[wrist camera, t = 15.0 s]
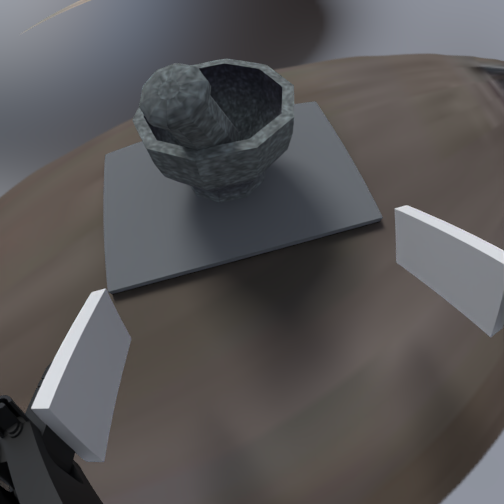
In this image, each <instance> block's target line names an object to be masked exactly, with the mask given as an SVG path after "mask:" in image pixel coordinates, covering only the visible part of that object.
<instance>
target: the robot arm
mask: <svg viewBox="0 0 504 504" xmlns="http://www.w3.org/2000/svg"><path fill="white" fill-rule="evenodd" d="M395 228H396V262H397V263H398V264H399V265H401V266H402V267H403V268H405V269H406V270H407V271H409V272H410V273H412V274H413V275H414V276H416V277H417V278H418V279H420V280H421V281H422V282H423V283H425V284H426V285H427V286H429V287H430V288H431V289H433V290H434V291H435V292H436V293H438V294H439V295H440V296H442V297H443V298H444V299H445V300H447V301H448V302H449V303H450V304H452V305H453V306H454V307H455V308H457V309H458V310H459V311H460V312H461V313H463V314H464V315H465V316H466V317H467V318H469V319H470V320H471V321H472V322H473V323H475V324H476V325H477V326H478V327H479V328H480V329H482V330H483V331H484V332H485V333H486V334H487V335H489V336H490V337H492V336H493V335H494V334H496V333H497V332H498V331H500V330H501V329H502V328H503V325H504V251H503V250H501V249H500V248H498V247H496V246H494V245H492V244H490V243H488V242H486V241H484V240H482V239H480V238H478V237H476V236H474V235H472V234H470V233H468V232H466V231H464V230H462V229H460V228H458V227H456V226H453V225H451V224H449V223H447V222H445V221H443V220H440V219H438V218H436V217H434V216H431V215H429V214H427V213H424V212H422V211H420V210H417V209H415V208H412V207H410V206H408V205H406V206H402V207H399V208H395ZM130 342H131V337H130V335H129V333H128V331H127V330H126V328H125V326H124V324H123V322H122V320H121V318H120V316H119V314H118V312H117V310H116V308H115V306H114V304H113V302H112V300H111V298H110V296H109V294H108V292H107V290H106V289H102V290H98V291H95V292H92V293H91V294H90V296H89V298H88V299H87V301H86V302H85V304H84V306H83V307H82V309H81V311H80V313H79V314H78V316H77V318H76V319H75V321H74V323H73V325H72V326H71V328H70V330H69V332H68V334H67V335H66V337H65V339H64V341H63V343H62V345H61V347H60V348H59V350H58V352H57V354H56V356H55V358H54V360H53V361H52V362H51V363H50V364H49V366H48V367H47V368H46V370H45V372H44V374H43V376H42V380H40V382H39V384H38V388H36V390H35V393H34V395H33V397H32V399H31V401H30V404H29V406H28V408H27V411H26V413H25V414H24V413H23V411H22V410H21V409H20V408H19V407H18V406H17V405H16V404H15V402H14V401H13V400H12V399H11V398H10V397H9V396H7V395H3V396H0V479H1V480H2V481H3V482H5V483H6V484H7V485H9V487H10V491H7V490H5V489H4V488H2V487H1V486H0V504H103V503H102V501H101V500H100V498H99V497H98V495H97V494H96V492H95V491H94V489H93V488H92V486H91V485H90V483H89V481H88V480H87V478H86V476H85V475H84V473H83V471H82V470H81V468H80V466H79V465H78V464H77V463H76V462H75V461H74V460H73V458H74V454H75V453H76V454H78V455H79V456H80V457H81V458H82V459H84V460H85V461H87V462H104V460H105V454H106V448H107V442H108V437H109V431H110V426H111V421H112V416H113V412H114V407H115V402H116V398H117V393H118V389H119V385H120V381H121V377H122V372H123V368H124V365H125V361H126V357H127V353H128V349H129V346H130Z"/></svg>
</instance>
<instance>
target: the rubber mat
mask: <svg viewBox="0 0 504 504" xmlns="http://www.w3.org/2000/svg"><path fill="white" fill-rule="evenodd" d="M381 219H382V215H381V213H380V211H379V209H378V207H377V205H376V203H375V201H374V199H373V197H372V195H371V193H370V191H369V189H368V187H367V186H366V184H365V182H364V180H363V178H362V176H361V175H360V173H359V171H358V169H357V167H356V166H355V164H354V162H353V160H352V159H351V157H350V155H349V153H348V152H347V150H346V148H345V147H344V145H343V143H342V142H341V140H340V138H339V137H338V135H337V134H336V132H335V130H334V129H333V127H332V126H331V124H330V123H329V121H328V119H327V118H326V116H325V115H324V113H323V112H322V110H321V109H320V107H319V106H318V104H317V103H316V102H308V103H301V104H294V125H293V134H292V137H291V140H290V143H289V146H288V149H287V150H286V151H285V152H284V153H283V154H282V155H281V156H280V157H279V158H278V159H277V160H276V161H275V162H274V163H273V164H272V165H271V166H270V167H268V168H267V169H266V170H265V178H264V181H263V182H262V183H261V184H260V185H259V186H258V187H257V188H255V189H254V190H253V191H252V192H251V193H250V194H249V195H248V196H247V197H245V198H240V199H236V200H231V201H227V202H222V203H218V202H215V201H212V200H209V199H206V198H203V197H200V196H197V195H196V194H195V192H194V191H193V189H192V187H191V186H190V185H187V184H184V183H180V182H177V181H175V180H172V179H170V178H167V177H165V176H164V175H163V174H162V173H161V172H160V170H159V169H158V168H157V167H156V166H155V164H154V163H153V161H152V159H151V157H150V155H149V153H148V151H147V149H146V147H145V145H144V143H143V141H142V142H139V143H136V144H133V145H130V146H127V147H125V148H122V149H119V150H116V151H114V152H111V153H109V154H106V155H105V167H104V246H105V263H106V276H107V287H108V292H109V293H111V294H114V293H118V292H122V291H125V290H129V289H133V288H136V287H140V286H144V285H148V284H151V283H155V282H159V281H163V280H166V279H170V278H174V277H177V276H181V275H185V274H189V273H192V272H196V271H200V270H203V269H207V268H211V267H214V266H218V265H222V264H226V263H229V262H233V261H237V260H240V259H244V258H248V257H251V256H255V255H259V254H262V253H266V252H270V251H273V250H277V249H281V248H284V247H288V246H292V245H295V244H299V243H303V242H306V241H310V240H313V239H317V238H321V237H324V236H328V235H332V234H335V233H339V232H342V231H346V230H350V229H353V228H357V227H361V226H364V225H368V224H371V223H375V222H379V221H380V220H381Z"/></svg>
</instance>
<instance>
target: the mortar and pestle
mask: <svg viewBox="0 0 504 504" xmlns="http://www.w3.org/2000/svg"><path fill="white" fill-rule="evenodd" d="M133 122H134V125H135V127H136V129H137V131H138V133H139V135H140V137H141V139H142V141H143V143H144V145H145V147H146V149H147V151H148V153H149V155H150V157H151V159H152V161H153V163H154V164H155V166H156V167H157V168H158V169H159V170H160V172H161V173H162V174H163V175H164V176H165V177H167V178H170V179H172V180H175V181H177V182H180V183H184V184H187V185H190V186H191V187H192V189H193V191H194V192H195V194H196V195H197V196H200V197H203V198H206V199H209V200H212V201H215V202H218V203H222V202H227V201H231V200H236V199H240V198H245V197H247V196H248V195H249V194H250V193H251V192H252V191H253V190H254V189H255V188H257V187H258V186H259V185H260V184H261V183H262V182H263V181H264V178H265V170H266V169H267V168H268V167H270V166H271V165H272V164H273V163H274V162H275V161H276V160H277V159H278V158H279V157H280V156H281V155H282V154H283V153H284V152H285V151H286V150H287V149H288V146H289V143H290V140H291V137H292V134H293V125H294V85H292V84H291V83H290V82H288V81H287V80H286V79H285V78H283V77H282V76H281V75H279V74H278V73H277V72H275V71H274V70H273V69H271V68H270V67H268V66H267V65H264V64H258V63H252V62H246V61H239V60H232V59H221V60H216V61H211V62H206V63H201V64H197V65H192V66H190V65H185V64H180V63H175V64H172V65H169V66H167V67H164V68H162V69H159V70H157V71H156V72H155V73H154V74H153V75H152V76H151V77H150V79H149V80H148V81H147V82H146V83H145V84H144V85H143V87H142V92H141V98H140V104H139V108H138V110H137V112H136V114H135V116H134V118H133Z"/></svg>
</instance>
